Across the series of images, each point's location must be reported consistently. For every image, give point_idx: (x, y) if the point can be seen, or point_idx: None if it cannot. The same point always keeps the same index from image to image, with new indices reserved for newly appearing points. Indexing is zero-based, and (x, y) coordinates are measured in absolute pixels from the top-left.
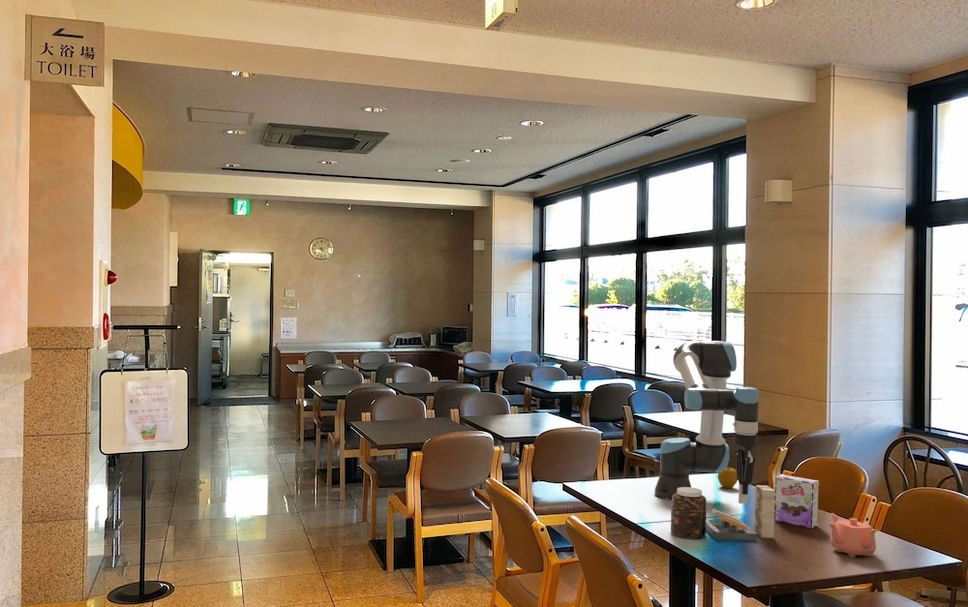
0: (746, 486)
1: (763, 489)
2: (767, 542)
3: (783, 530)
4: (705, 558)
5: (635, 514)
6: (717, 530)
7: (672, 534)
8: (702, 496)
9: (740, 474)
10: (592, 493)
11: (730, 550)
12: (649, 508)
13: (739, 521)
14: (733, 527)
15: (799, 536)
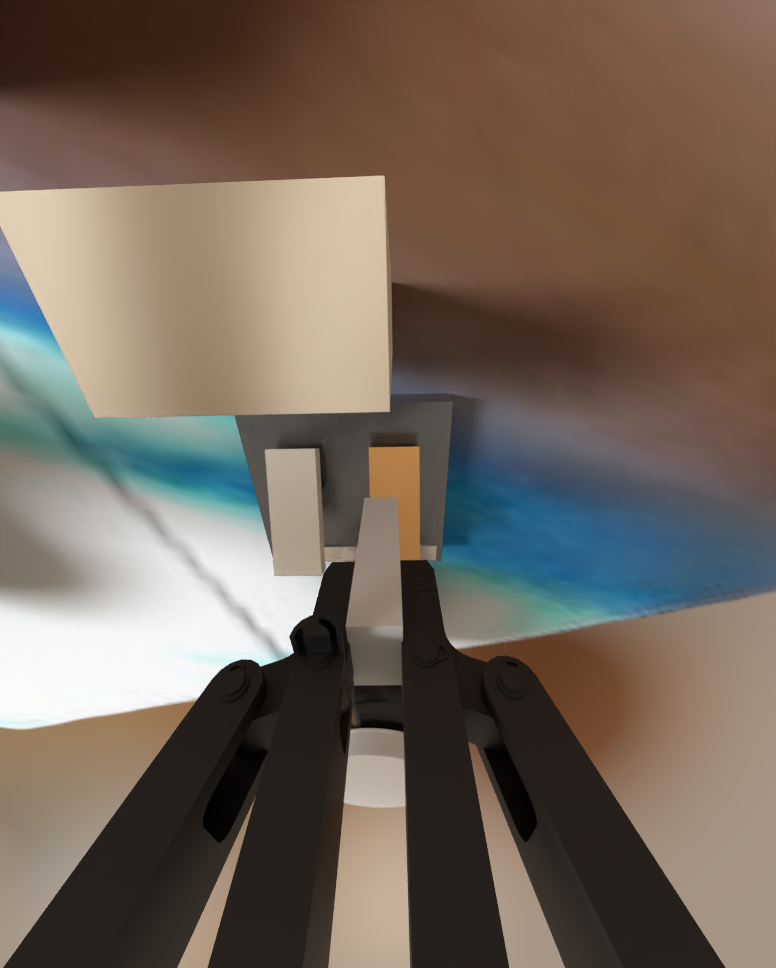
0: (441, 637)
1: (345, 392)
2: (467, 349)
3: (205, 124)
4: (617, 607)
5: (207, 668)
6: (423, 551)
7: None
8: (396, 721)
9: (340, 826)
10: (31, 711)
11: (558, 529)
12: (112, 632)
13: (315, 450)
14: None
15: (326, 34)
